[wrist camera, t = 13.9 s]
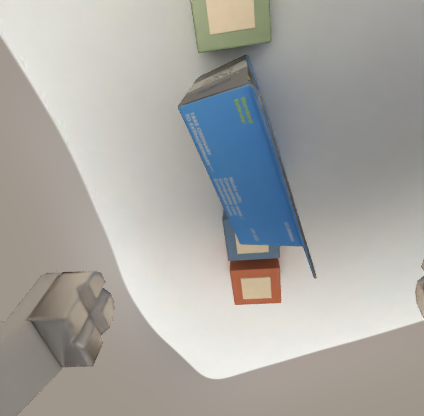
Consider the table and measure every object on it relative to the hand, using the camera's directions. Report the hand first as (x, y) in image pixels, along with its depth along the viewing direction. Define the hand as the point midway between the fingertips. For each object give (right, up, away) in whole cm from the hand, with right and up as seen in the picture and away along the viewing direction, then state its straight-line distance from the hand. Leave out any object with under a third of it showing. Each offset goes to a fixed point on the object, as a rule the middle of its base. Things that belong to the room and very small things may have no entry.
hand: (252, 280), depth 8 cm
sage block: (0, +14, +11) cm, 18 cm away
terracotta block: (+3, -3, +21) cm, 22 cm away
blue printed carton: (+1, +8, +15) cm, 17 cm away
